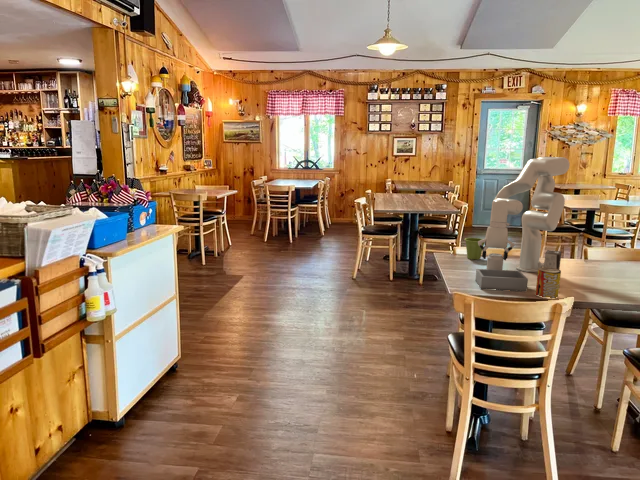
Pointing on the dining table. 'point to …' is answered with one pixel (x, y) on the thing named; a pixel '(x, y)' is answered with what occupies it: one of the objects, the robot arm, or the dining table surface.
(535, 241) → the robot arm
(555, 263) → the coffee box
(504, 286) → the bin
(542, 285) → the beverage can
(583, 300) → the dining table surface
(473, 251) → the plant pot
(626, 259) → the dining table surface
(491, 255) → the can
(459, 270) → the dining table surface
